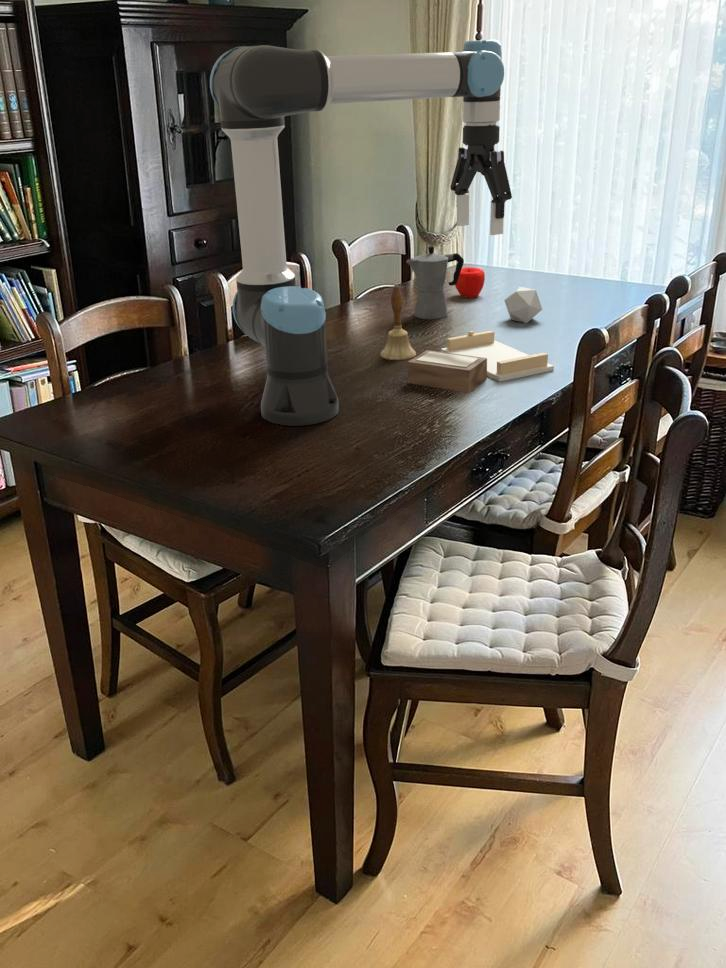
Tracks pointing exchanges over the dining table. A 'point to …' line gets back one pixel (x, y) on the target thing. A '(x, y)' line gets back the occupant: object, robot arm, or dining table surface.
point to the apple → (470, 282)
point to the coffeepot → (433, 282)
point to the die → (523, 304)
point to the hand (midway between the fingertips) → (479, 229)
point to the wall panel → (498, 356)
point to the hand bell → (397, 333)
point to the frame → (447, 370)
